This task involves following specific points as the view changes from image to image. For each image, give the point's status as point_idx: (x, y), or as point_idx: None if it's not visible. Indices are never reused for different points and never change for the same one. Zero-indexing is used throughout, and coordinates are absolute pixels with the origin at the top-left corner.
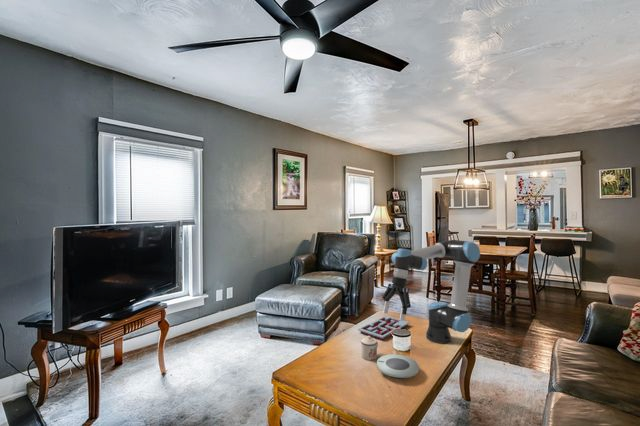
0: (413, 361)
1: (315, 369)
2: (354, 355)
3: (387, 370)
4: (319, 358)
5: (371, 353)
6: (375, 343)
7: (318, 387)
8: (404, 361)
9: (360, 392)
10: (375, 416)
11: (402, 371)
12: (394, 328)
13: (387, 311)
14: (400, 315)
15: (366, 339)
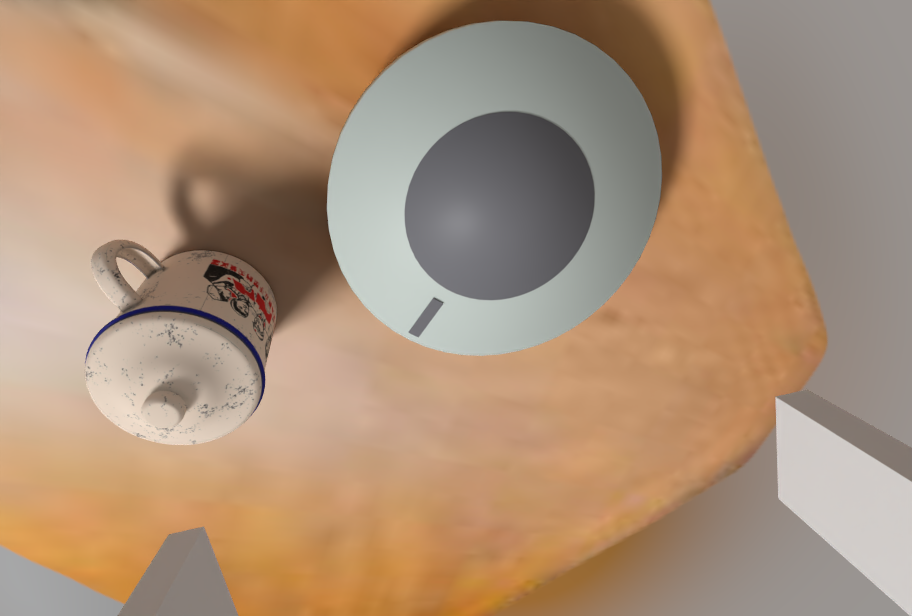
0: (514, 46)
1: (327, 589)
2: None
3: (554, 321)
4: None
5: (271, 336)
6: (243, 344)
7: (483, 583)
8: (489, 136)
9: (588, 453)
10: (745, 439)
11: (609, 231)
12: None
13: (190, 582)
14: (867, 566)
15: (189, 425)
